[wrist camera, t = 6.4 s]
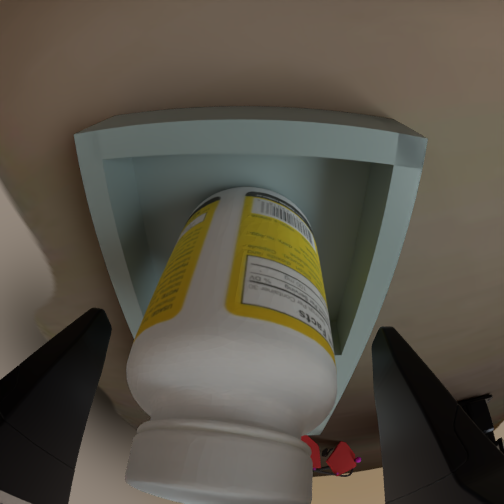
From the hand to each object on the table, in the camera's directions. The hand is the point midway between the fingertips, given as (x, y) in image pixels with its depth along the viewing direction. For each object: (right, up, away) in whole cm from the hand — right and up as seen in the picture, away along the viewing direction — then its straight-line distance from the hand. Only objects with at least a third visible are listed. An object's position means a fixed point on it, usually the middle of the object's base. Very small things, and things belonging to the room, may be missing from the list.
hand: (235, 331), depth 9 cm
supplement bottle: (0, +3, +4) cm, 5 cm away
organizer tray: (0, -1, +7) cm, 7 cm away
